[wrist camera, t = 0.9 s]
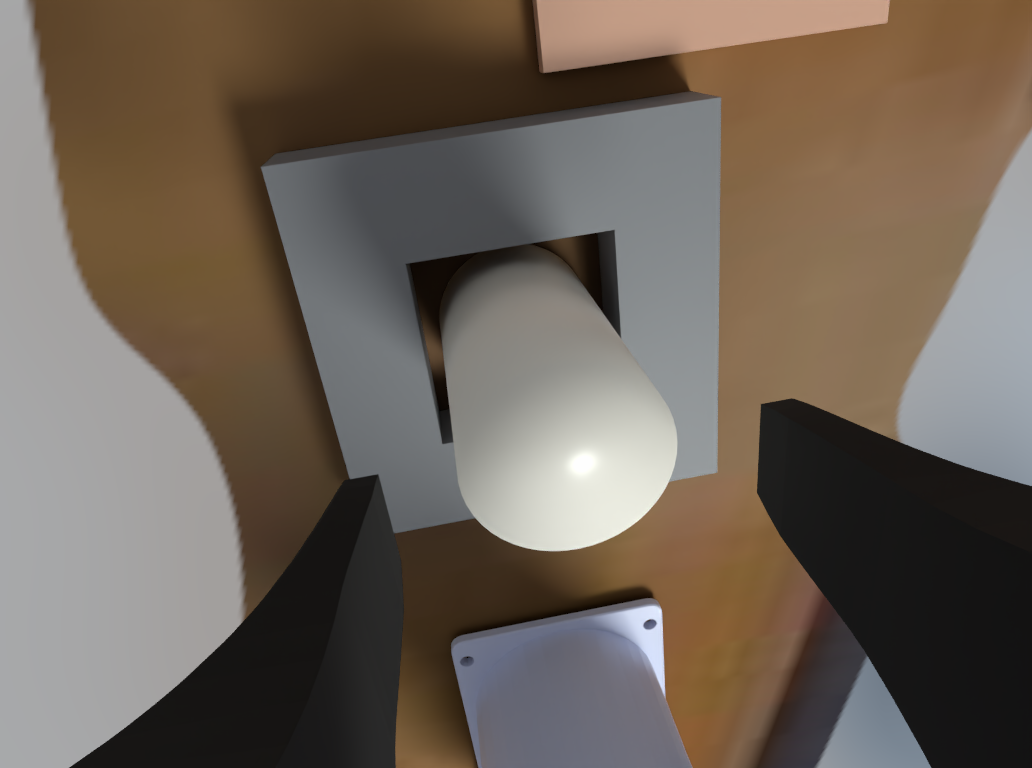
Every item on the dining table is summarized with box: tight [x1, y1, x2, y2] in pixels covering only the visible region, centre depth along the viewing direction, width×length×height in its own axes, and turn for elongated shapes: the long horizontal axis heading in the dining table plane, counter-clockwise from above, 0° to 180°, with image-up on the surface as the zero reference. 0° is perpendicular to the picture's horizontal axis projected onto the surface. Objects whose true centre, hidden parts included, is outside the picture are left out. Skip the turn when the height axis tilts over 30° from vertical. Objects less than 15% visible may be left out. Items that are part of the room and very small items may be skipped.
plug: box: [439, 244, 677, 551], centre depth 17 cm, size 4×4×8 cm
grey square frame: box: [261, 91, 721, 533], centre depth 20 cm, size 11×11×2 cm
